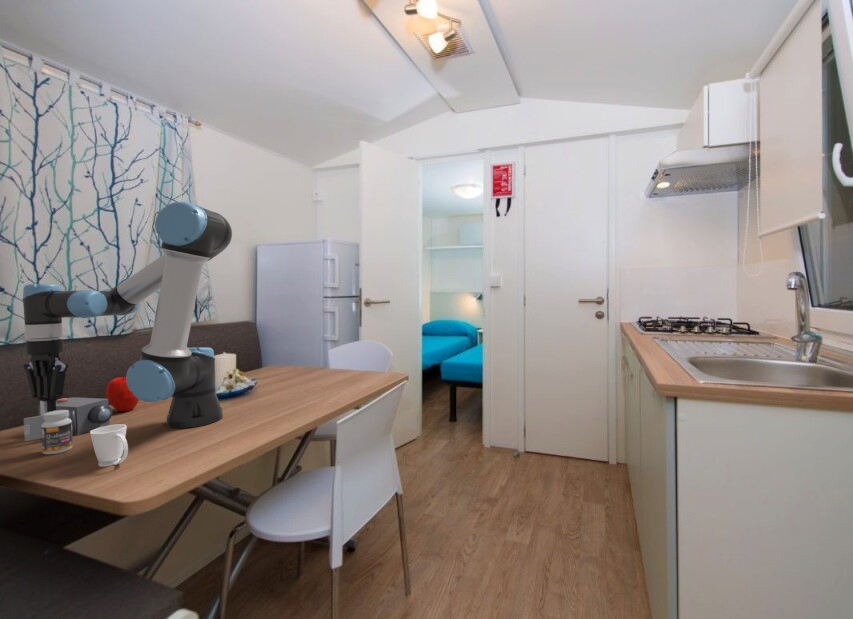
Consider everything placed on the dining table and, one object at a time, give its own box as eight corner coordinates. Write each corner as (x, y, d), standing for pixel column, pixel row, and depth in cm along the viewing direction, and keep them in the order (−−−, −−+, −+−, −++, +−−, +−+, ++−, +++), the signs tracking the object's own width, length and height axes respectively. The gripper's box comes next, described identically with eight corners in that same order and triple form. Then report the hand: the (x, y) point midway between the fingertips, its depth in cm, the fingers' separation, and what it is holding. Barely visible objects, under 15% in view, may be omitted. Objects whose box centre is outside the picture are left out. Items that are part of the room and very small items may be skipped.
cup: (117, 454, 96) (116, 422, 96) (143, 460, 92) (142, 427, 92) (83, 466, 90) (81, 431, 90) (109, 473, 86) (107, 437, 86)
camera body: (116, 425, 120) (115, 396, 119) (84, 435, 111) (83, 405, 110) (73, 422, 123) (71, 395, 123) (38, 432, 114) (37, 403, 114)
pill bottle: (46, 457, 96) (44, 416, 96) (39, 452, 99) (37, 413, 99) (76, 449, 101) (74, 410, 100) (68, 445, 104) (66, 407, 103)
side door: (75, 432, 111) (74, 410, 111) (75, 433, 110) (74, 411, 110) (25, 440, 105) (24, 417, 105) (24, 442, 104) (23, 418, 104)
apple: (98, 414, 132) (96, 378, 131) (126, 406, 141) (125, 372, 141) (122, 415, 130) (120, 379, 129) (149, 407, 139) (148, 373, 139)
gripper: (77, 337, 112) (81, 419, 113) (41, 337, 115) (46, 417, 115) (47, 340, 105) (51, 428, 105) (10, 340, 107) (14, 425, 108)
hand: (48, 422), depth 110 cm, fingers closed
